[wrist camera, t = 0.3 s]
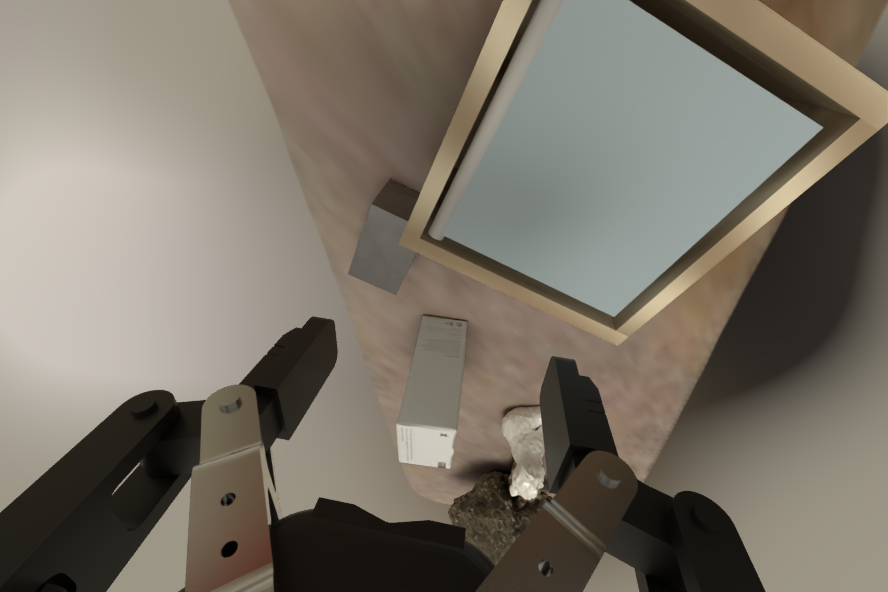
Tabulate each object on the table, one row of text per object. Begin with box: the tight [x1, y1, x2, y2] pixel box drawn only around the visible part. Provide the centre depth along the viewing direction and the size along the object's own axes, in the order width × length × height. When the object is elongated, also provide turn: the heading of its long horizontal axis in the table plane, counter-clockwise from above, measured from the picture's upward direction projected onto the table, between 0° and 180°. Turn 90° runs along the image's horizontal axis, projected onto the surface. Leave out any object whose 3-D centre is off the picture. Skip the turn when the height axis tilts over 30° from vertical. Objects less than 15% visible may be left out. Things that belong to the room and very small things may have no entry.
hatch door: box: [428, 0, 823, 317], centre depth 18 cm, size 13×13×1 cm
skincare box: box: [396, 315, 468, 469], centre depth 40 cm, size 8×6×15 cm
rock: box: [448, 462, 553, 566], centre depth 59 cm, size 18×14×15 cm
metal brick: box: [348, 179, 420, 295], centre depth 34 cm, size 8×5×6 cm, turn 156°
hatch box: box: [399, 0, 888, 346], centre depth 23 cm, size 16×16×14 cm
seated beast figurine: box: [502, 406, 545, 500], centre depth 49 cm, size 10×9×12 cm
